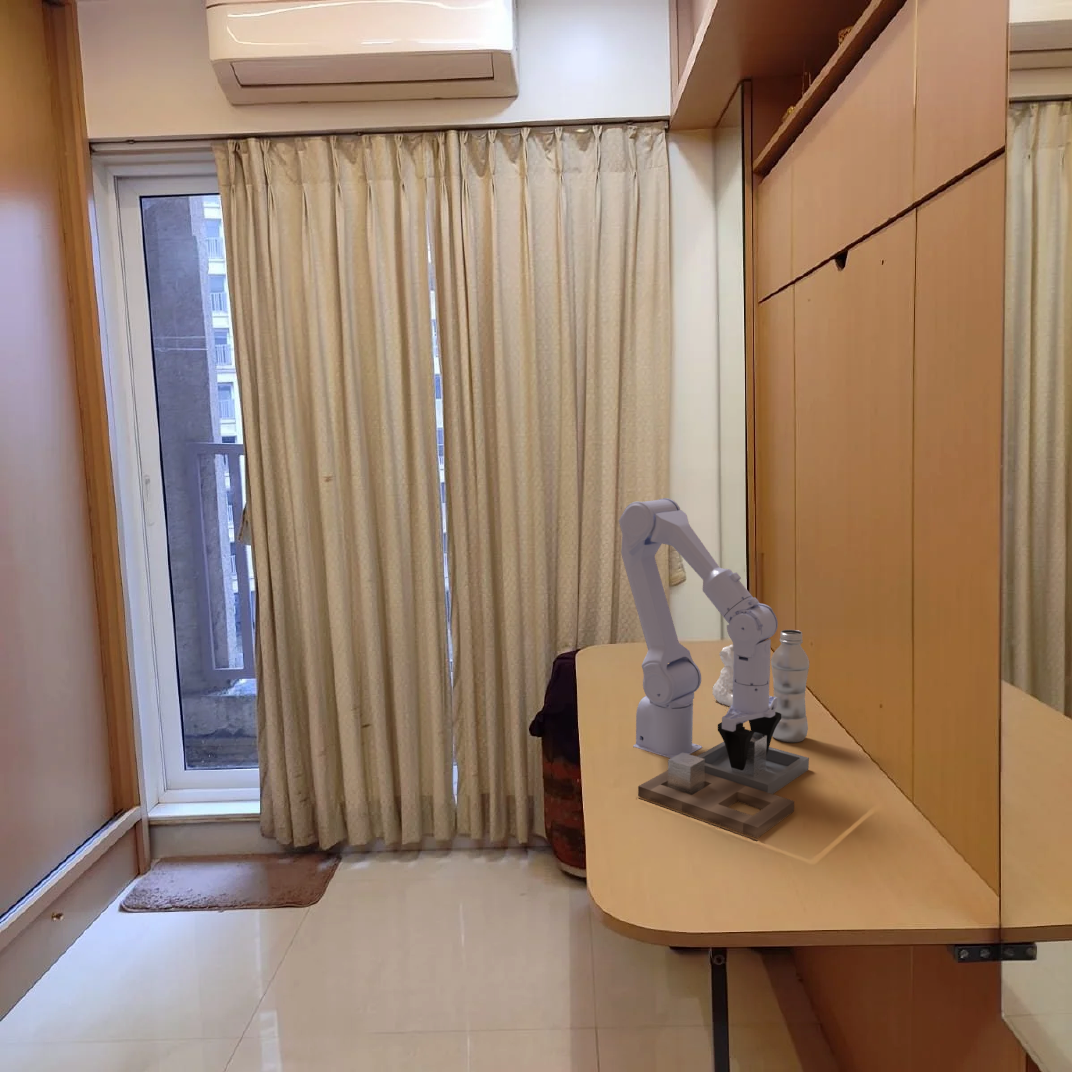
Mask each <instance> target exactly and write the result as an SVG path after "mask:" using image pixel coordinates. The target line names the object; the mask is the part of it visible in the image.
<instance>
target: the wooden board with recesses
mask: <svg viewBox="0 0 1072 1072" xmlns="http://www.w3.org/2000/svg"><path fill="white" fill-rule="evenodd" d="M637 788H638V791H637V793H638V795H637V796H638V797H637V799H638V800H641V801H644V802H647V803H649V804H653V805H655V806H659V807H661V808H664V809H666V810H669V811H672V812H674V813H678V814H680V815H683V816H686V817H689V818H691V819H693V820H697V821H699V822H703V823H706V824H708V825H710V826H714V827H717V828H719V829H722V830H725V831H727V832H730V833H733V834H736V835H739V836H741V837H744V838H747V839H749V840H752V841H755V842H759V840H757V839H759V838H760V837H761V836H762V835H764V834H765V833H766V832H768V831H769V830H770V829H772V828H773V827H775V826H776V825H777V824H779V823H780V822H781V821H782V820H784V819H785V818H786V817H787V818H788V817H789V816H790V815H791V814H792V813H793V812H794V811H795V800H793V799H789V798H786V797H783V796H779V795H777V794H775V793H774V794H770V793H767V792H764V791H761V790H758V789H755V788H751V787H748V786H745V785H742V784H739V783H735V782H732V781H729V780H726V779H723V778H720V777H716V776H713V775H710V774H707V773H705V776H704V788H703V789H701V790H700V791H698V792H696V793H695V794H693V795H690V794H687V793H684V792H681V791H678V790H675V789H672V788H669V787H668V769H667V770H665V771H663V772H662V773H660V774H658V775H656V776H654V777H652V778H651V779H648V780H647V781H645V782H643V783H641V784H639V785H638V787H637ZM646 799H647V800H646ZM649 800H650V801H649ZM651 801H652V802H651ZM737 802H738V803H741V804H744V805H746V806H749V807H753V808H756V809H759V811H757V812H756V813H754V814H753V815H751V814H748V813H746V812H742V811H740V810H737V809H735V808H730V807H731V806H733V804H735V803H737ZM660 804H661V805H660ZM663 805H664V806H663ZM665 806H666V807H665ZM677 810H678V811H677ZM680 811H681V812H680ZM682 812H683V813H682ZM691 815H692V816H691ZM710 822H711V823H710ZM716 824H717V825H716ZM719 825H720V826H719ZM722 826H723V827H722ZM724 827H725V828H724ZM730 829H731V830H730ZM736 831H737V832H736ZM749 836H750V837H749ZM753 837H754V838H753ZM755 838H756V839H755Z"/></svg>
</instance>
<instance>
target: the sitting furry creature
mask: <svg viewBox="0 0 1072 1072" xmlns="http://www.w3.org/2000/svg"><path fill="white" fill-rule="evenodd" d="M718 656H719V657H720V660H721V662H722V664H723V665H724V666H723V668H721V670H720V675H719V677H718V679H717V680H716V682H714V685H713V687H712V695H713V697H714V699H715V700H716V701H717V702H718V703H719V704H721V705H725V706H728V707H729V708H730V707H731V705H732V701H733V662H734V651H733V643H732V644H729V645H727V646H724V647H722V650H721V651H719V655H718Z"/></svg>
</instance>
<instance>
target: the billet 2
mask: <svg viewBox="0 0 1072 1072" xmlns="http://www.w3.org/2000/svg"><path fill="white" fill-rule="evenodd" d="M766 747H767V735H764V734H760V733H757V732H754V734H753V736H752V738H751V740H750V743H749V747H748V751H747V759H746V765H745V768H744V770H738V769H735V768H732V771H734V772H737V773H741V774H744V775H747V776H750V777H754V778H755V777H756V776H758V775H759V774H761V773H763V772H764V771H766Z"/></svg>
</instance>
